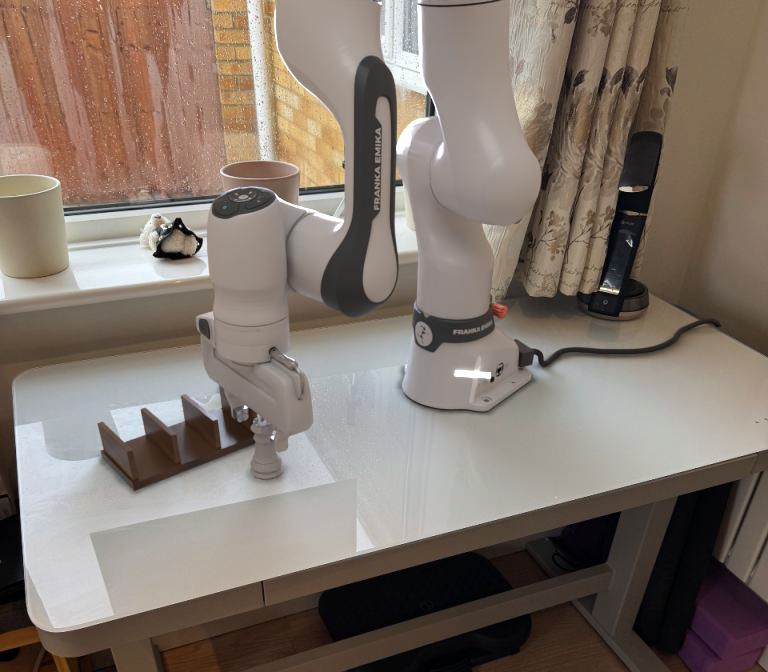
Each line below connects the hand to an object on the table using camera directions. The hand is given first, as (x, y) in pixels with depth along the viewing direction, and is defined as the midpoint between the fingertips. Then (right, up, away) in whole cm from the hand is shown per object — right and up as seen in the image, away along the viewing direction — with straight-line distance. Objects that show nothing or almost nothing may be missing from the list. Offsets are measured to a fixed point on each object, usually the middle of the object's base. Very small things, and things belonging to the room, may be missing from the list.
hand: (259, 433), depth 98 cm
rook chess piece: (0, -5, +4) cm, 6 cm away
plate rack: (-12, -1, +8) cm, 14 cm away
